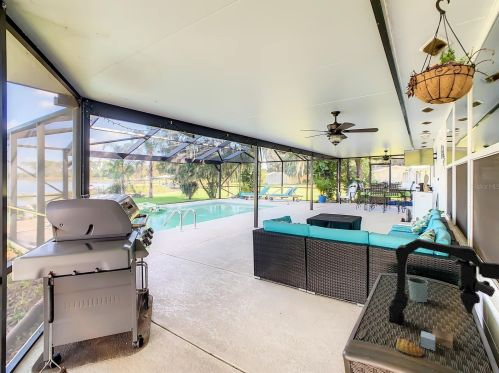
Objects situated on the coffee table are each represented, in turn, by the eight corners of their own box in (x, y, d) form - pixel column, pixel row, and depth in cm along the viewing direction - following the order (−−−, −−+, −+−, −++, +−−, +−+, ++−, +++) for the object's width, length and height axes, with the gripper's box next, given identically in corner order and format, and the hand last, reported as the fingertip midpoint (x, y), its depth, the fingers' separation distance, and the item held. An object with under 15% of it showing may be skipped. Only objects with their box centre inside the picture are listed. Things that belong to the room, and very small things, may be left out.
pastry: (422, 351, 105) (422, 342, 105) (422, 360, 100) (421, 351, 100) (397, 343, 111) (397, 334, 111) (395, 351, 106) (395, 342, 106)
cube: (420, 347, 107) (420, 336, 107) (421, 341, 111) (421, 330, 111) (435, 352, 104) (434, 340, 104) (435, 346, 108) (435, 334, 108)
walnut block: (432, 343, 110) (432, 336, 110) (433, 336, 116) (433, 328, 116) (452, 350, 106) (452, 342, 106) (452, 341, 111) (452, 334, 111)
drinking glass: (432, 303, 145) (431, 283, 145) (414, 303, 146) (414, 283, 146) (420, 295, 156) (420, 277, 156) (404, 296, 156) (404, 277, 156)
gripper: (496, 286, 98) (497, 324, 98) (489, 272, 113) (490, 306, 113) (460, 279, 105) (460, 316, 105) (458, 267, 120) (458, 299, 120)
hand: (468, 309), depth 111 cm, fingers open, 9 cm apart
